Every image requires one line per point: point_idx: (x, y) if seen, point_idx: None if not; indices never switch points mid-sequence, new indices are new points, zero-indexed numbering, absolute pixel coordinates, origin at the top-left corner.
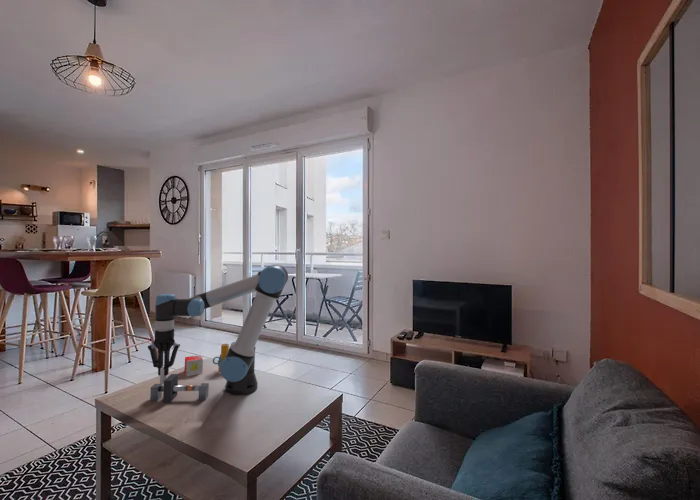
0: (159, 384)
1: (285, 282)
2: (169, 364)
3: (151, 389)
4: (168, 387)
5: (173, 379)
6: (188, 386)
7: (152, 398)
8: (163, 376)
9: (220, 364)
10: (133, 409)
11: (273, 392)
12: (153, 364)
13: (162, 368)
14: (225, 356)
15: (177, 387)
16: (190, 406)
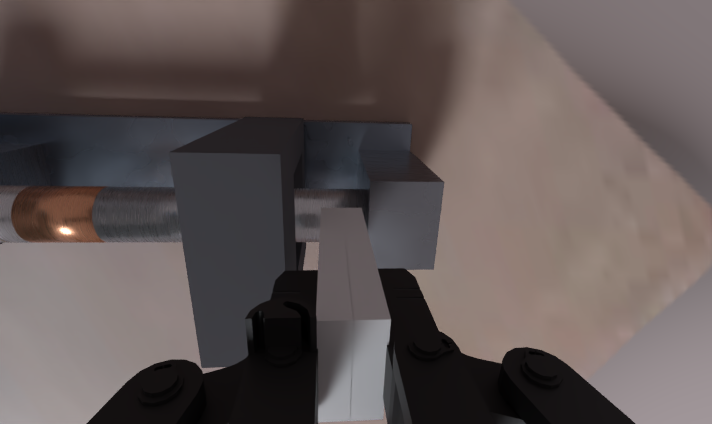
0: (384, 251)
1: None
2: (157, 417)
3: (430, 176)
4: (234, 137)
5: (187, 227)
6: (62, 210)
7: (400, 157)
8: (322, 246)
9: None
10: (493, 77)
11: None
12: (598, 403)
13: (356, 342)
14: None
15: None
16: (88, 96)
